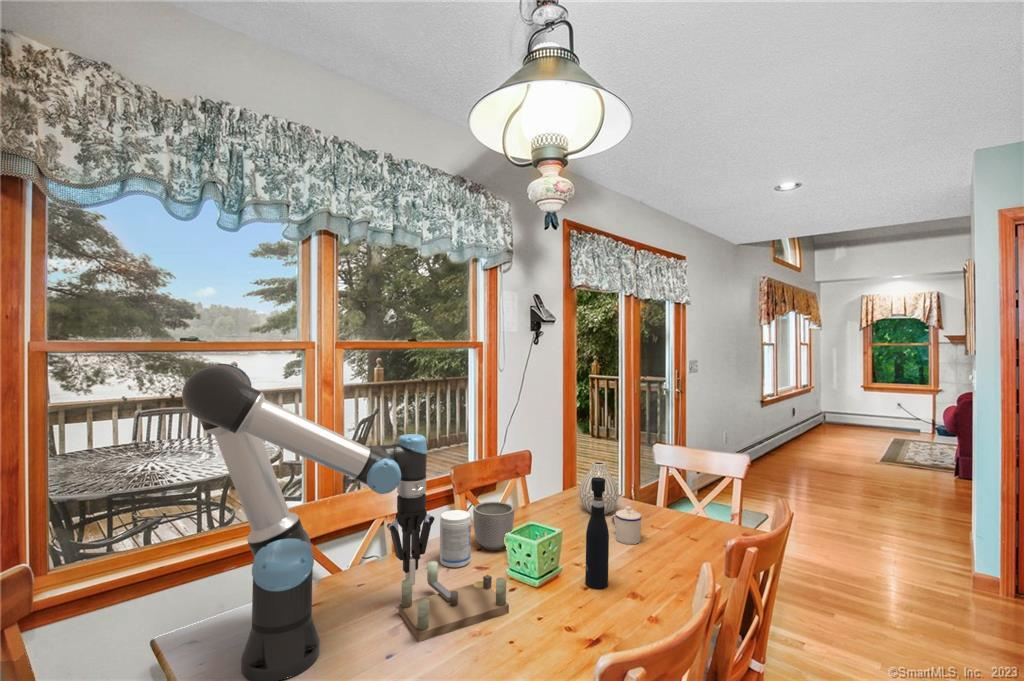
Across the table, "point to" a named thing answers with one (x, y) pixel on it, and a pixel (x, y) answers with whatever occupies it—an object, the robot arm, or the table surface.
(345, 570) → the table surface
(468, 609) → the wooden peg board
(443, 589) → the hinged leg
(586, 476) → the vase
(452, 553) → the supplement tub
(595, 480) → the wine bottle
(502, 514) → the planter
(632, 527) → the teacup with lid
